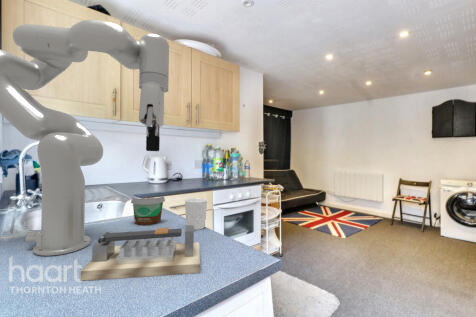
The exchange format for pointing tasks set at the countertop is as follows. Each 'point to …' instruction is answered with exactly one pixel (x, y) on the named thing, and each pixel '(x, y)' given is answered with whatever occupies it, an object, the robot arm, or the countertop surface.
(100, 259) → the heat sink
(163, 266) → the board
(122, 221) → the countertop surface
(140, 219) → the food container
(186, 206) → the white cup
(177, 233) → the strap
